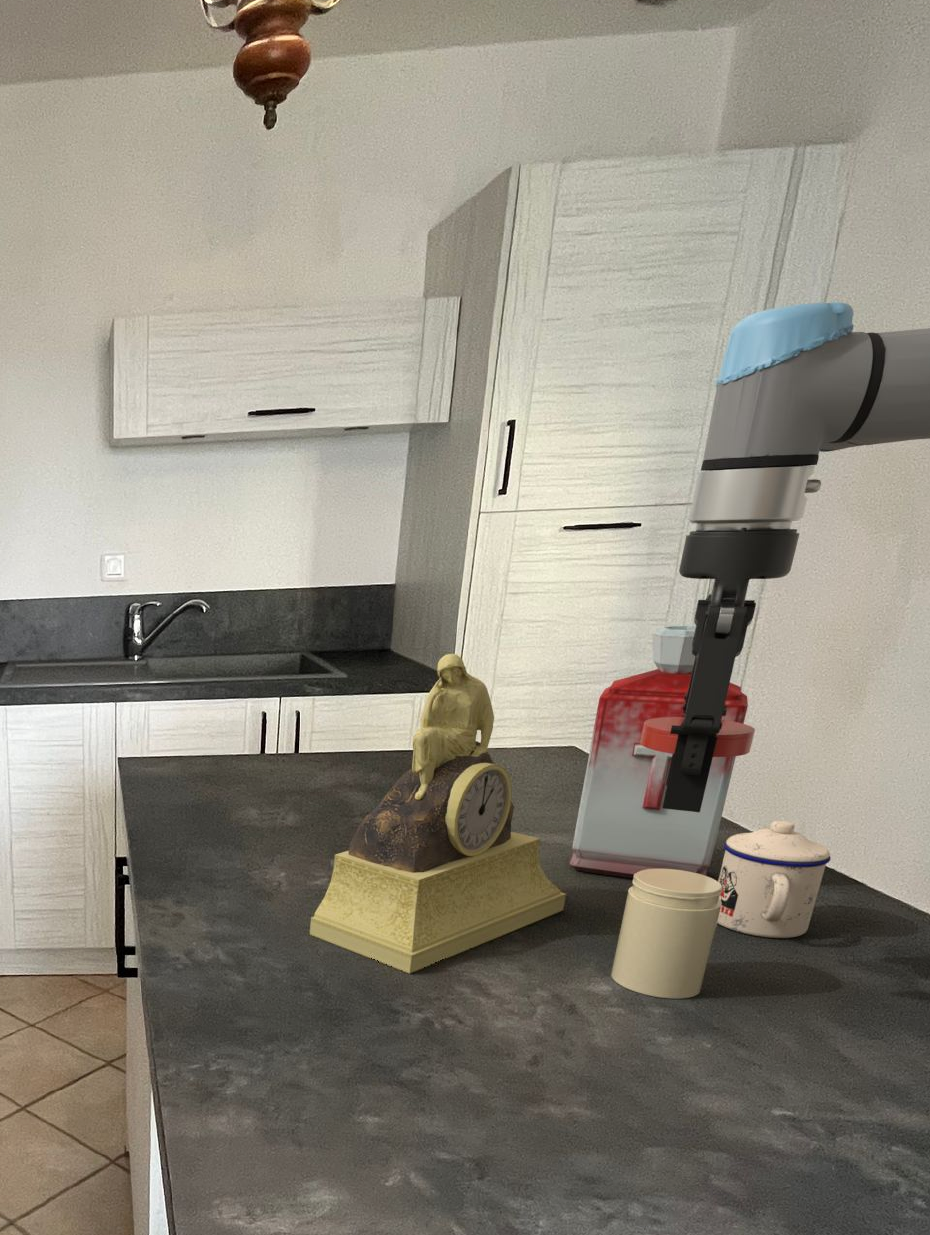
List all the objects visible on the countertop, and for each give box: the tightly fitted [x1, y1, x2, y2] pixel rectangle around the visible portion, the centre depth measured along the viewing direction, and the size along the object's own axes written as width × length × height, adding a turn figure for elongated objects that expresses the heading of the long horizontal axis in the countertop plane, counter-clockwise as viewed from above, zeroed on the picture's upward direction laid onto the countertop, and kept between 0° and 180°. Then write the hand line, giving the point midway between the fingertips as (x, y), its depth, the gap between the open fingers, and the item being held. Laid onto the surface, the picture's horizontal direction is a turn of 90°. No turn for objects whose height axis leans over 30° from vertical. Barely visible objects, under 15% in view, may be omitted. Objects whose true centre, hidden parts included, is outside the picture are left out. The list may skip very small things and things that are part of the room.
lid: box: [640, 717, 756, 757], centre depth 86 cm, size 8×8×2 cm
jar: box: [610, 869, 722, 1000], centre depth 94 cm, size 7×7×11 cm
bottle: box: [569, 625, 749, 879], centre depth 119 cm, size 14×10×30 cm
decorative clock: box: [309, 653, 567, 975], centre depth 106 cm, size 28×13×30 cm, turn 123°
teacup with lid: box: [717, 820, 831, 939], centre depth 104 cm, size 12×9×12 cm
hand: (682, 797), depth 88 cm, fingers closed on lid, 8 cm apart
